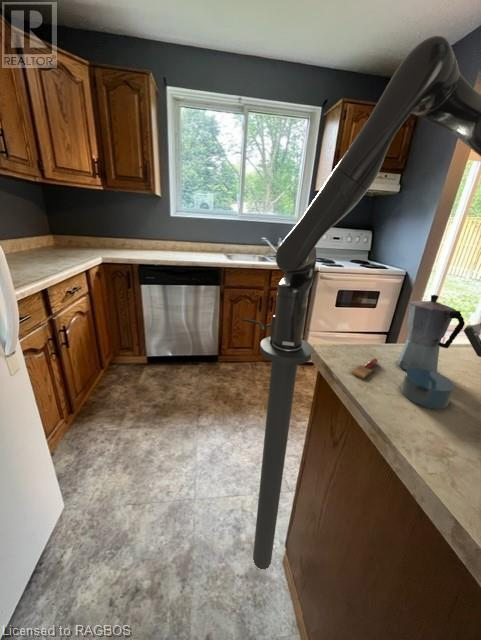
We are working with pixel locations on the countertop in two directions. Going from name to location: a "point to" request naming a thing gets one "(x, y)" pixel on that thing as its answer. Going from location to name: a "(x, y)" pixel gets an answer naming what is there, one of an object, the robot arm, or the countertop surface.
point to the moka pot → (427, 333)
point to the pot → (427, 388)
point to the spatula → (364, 369)
